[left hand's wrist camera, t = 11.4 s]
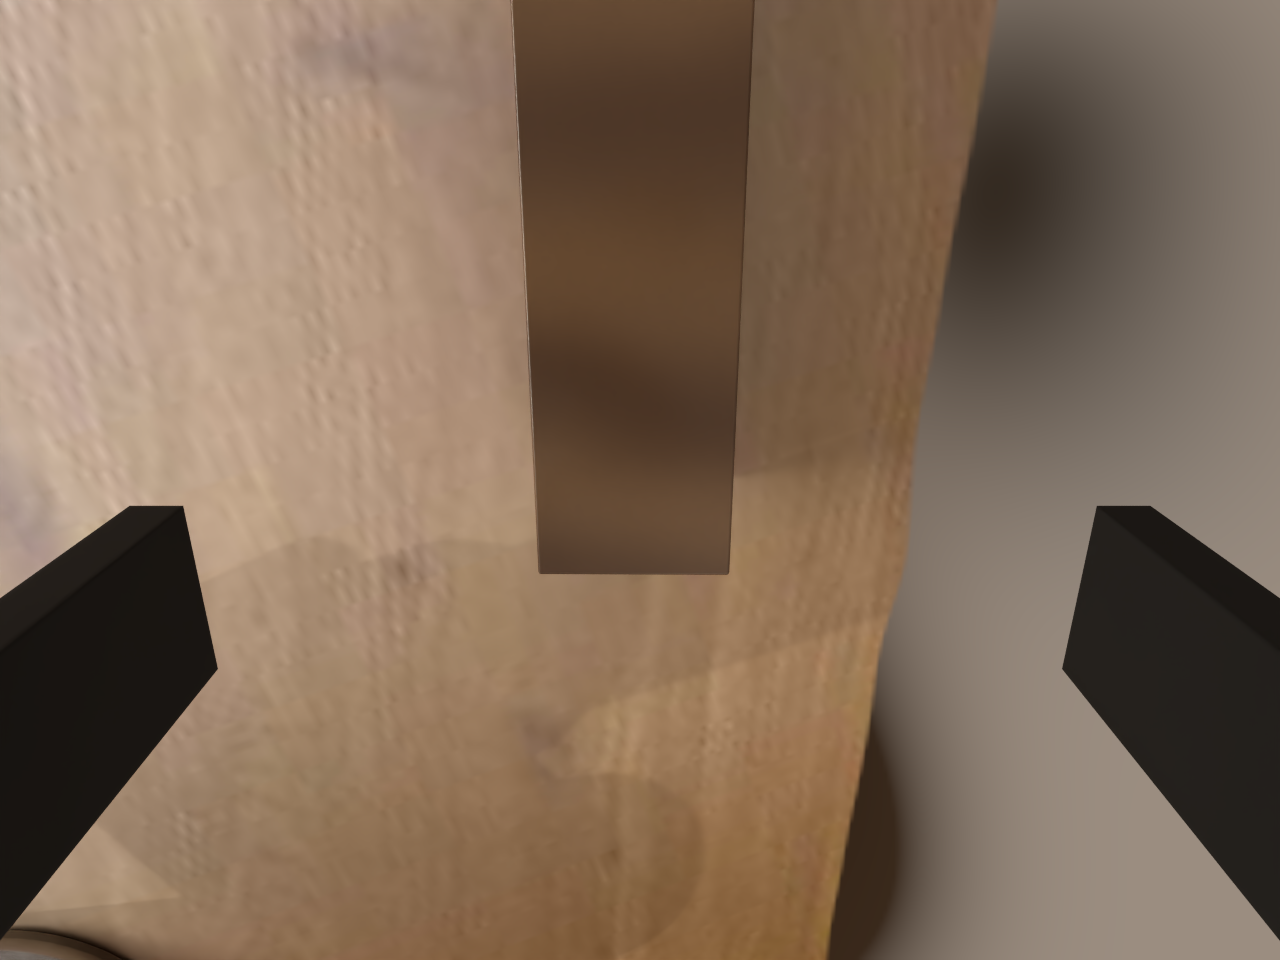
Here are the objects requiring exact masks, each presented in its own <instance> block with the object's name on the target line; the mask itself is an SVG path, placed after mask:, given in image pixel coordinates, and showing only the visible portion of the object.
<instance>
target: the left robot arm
mask: <svg viewBox="0 0 1280 960" xmlns="http://www.w3.org/2000/svg"><path fill="white" fill-rule="evenodd" d="M217 669H218V668H217V663H216V658H215V654H214V649H213V644H212V639H211V635H210V630H209V625H208V621H207V616H206V611H205V607H204V602H203V597H202V593H201V588H200V583H199V578H198V574H197V569H196V564H195V560H194V555H193V550H192V546H191V541H190V536H189V532H188V527H187V522H186V518H185V513H184V508H183V506H129V507H128V508H126V509H125V510H123V511H122V512H121V513H119V514H118V515H116V516H115V517H113V518H112V519H111V520H109V521H108V522H106V523H105V524H104V525H102V526H101V527H99V528H98V529H97V530H95V531H94V532H92V533H91V534H90V535H88V536H87V537H85V538H84V539H83V540H81V541H80V542H78V543H77V544H76V545H74V546H73V547H71V548H70V549H69V550H67V551H66V552H64V553H63V554H62V555H60V556H59V557H57V558H56V559H55V560H53V561H52V562H50V563H49V564H48V565H46V566H45V567H43V568H42V569H41V570H39V571H38V572H36V573H35V574H34V575H32V576H31V577H29V578H28V579H27V580H25V581H24V582H22V583H21V584H20V585H18V586H17V587H15V588H14V589H13V590H11V591H10V592H8V593H7V594H5V595H4V596H3V597H1V598H0V960H122V959H120V958H118V957H116V956H114V955H112V954H110V953H108V952H106V951H104V950H101V949H99V948H97V947H94V946H92V945H89V944H86V943H83V942H80V941H77V940H74V939H70V938H66V937H62V936H58V935H53V934H47V933H41V932H33V931H21V930H9V929H10V928H11V926H12V925H13V924H14V923H15V921H16V920H17V919H18V918H19V916H20V915H21V914H22V913H23V911H24V910H25V909H26V908H27V906H28V905H29V904H30V903H31V901H32V900H33V899H34V898H35V896H36V895H37V894H38V893H39V891H40V890H41V889H42V888H43V886H44V885H45V884H46V883H47V881H48V880H49V879H50V878H51V876H52V875H53V874H54V873H55V871H56V870H57V869H58V868H59V866H60V865H61V864H62V863H63V861H64V860H65V859H66V858H67V856H68V855H69V854H70V853H71V852H72V850H73V849H74V848H75V847H76V845H77V844H78V843H79V842H80V840H81V839H82V838H83V837H84V835H85V834H86V833H87V832H88V830H89V829H90V828H91V827H92V825H93V824H94V823H95V822H96V820H97V819H98V818H99V817H100V815H101V814H102V813H103V812H104V810H105V809H106V808H107V807H108V805H109V804H110V803H111V802H112V800H113V799H114V798H115V797H116V795H117V794H118V793H119V792H120V790H121V789H122V788H123V787H124V785H125V784H126V783H127V782H128V780H129V779H130V778H131V777H132V775H133V774H134V773H135V772H136V770H137V769H138V768H139V767H140V765H141V764H142V763H143V762H144V760H145V759H146V758H147V757H148V755H149V754H150V753H151V752H152V750H153V749H154V748H155V747H156V745H157V744H158V743H159V742H160V740H161V739H162V738H163V737H164V735H165V734H166V733H167V732H168V730H169V729H170V728H171V727H172V725H173V724H174V723H175V722H176V720H177V719H178V718H179V717H180V715H181V714H182V713H183V712H184V710H185V709H186V708H187V707H188V706H189V704H190V703H191V702H192V701H193V699H194V698H195V697H196V696H197V694H198V693H199V692H200V691H201V689H202V688H203V687H204V686H205V684H206V683H207V682H208V681H209V679H210V678H211V677H212V676H213V674H214V673H215V672H216V671H217ZM1062 669H1063V671H1064V672H1065V673H1066V674H1067V676H1068V677H1069V678H1070V679H1071V680H1072V682H1073V683H1074V684H1075V686H1076V687H1077V688H1078V689H1079V691H1080V692H1081V693H1082V694H1083V696H1084V697H1085V698H1086V699H1087V700H1088V702H1089V703H1090V704H1091V706H1092V707H1093V708H1094V709H1095V710H1096V712H1097V713H1098V714H1099V715H1100V717H1101V718H1102V719H1103V720H1104V722H1105V723H1106V724H1107V725H1108V727H1109V728H1110V729H1111V730H1112V732H1113V733H1114V734H1115V735H1116V737H1117V738H1118V739H1119V740H1120V742H1121V743H1122V744H1123V745H1124V747H1125V748H1126V749H1127V750H1128V752H1129V753H1130V754H1131V755H1132V757H1133V758H1134V759H1135V760H1136V762H1137V763H1138V764H1139V765H1140V767H1141V768H1142V769H1143V770H1144V772H1145V773H1146V774H1147V775H1148V777H1149V778H1150V779H1151V780H1152V782H1153V783H1154V784H1155V785H1156V787H1157V788H1158V789H1159V790H1160V792H1161V793H1162V794H1163V795H1164V796H1165V798H1166V799H1167V800H1168V802H1169V803H1170V804H1171V805H1172V807H1173V808H1174V809H1175V810H1176V812H1177V813H1178V814H1179V815H1180V817H1181V818H1182V819H1183V820H1184V822H1185V823H1186V824H1187V825H1188V827H1189V828H1190V829H1191V830H1192V832H1193V833H1194V834H1195V835H1196V836H1197V838H1198V839H1199V840H1200V842H1201V843H1202V844H1203V845H1204V847H1205V848H1206V849H1207V850H1208V851H1209V853H1210V854H1211V855H1212V856H1213V858H1214V859H1215V860H1216V861H1217V863H1218V864H1219V865H1220V866H1221V868H1222V869H1223V870H1224V871H1225V873H1226V874H1227V875H1228V876H1229V878H1230V879H1231V880H1232V881H1233V883H1234V884H1235V885H1236V886H1237V888H1238V889H1239V890H1240V891H1241V893H1242V894H1243V895H1244V896H1245V898H1246V899H1247V900H1248V901H1249V903H1250V904H1251V905H1252V906H1253V908H1254V909H1255V910H1256V911H1257V913H1258V914H1259V915H1260V916H1261V918H1262V919H1263V920H1264V921H1265V923H1266V924H1267V925H1268V926H1269V928H1270V929H1271V930H1272V931H1273V933H1274V934H1275V935H1276V936H1277V938H1278V939H1279V940H1280V598H1279V597H1277V596H1276V595H1274V594H1273V593H1272V592H1270V591H1269V590H1267V589H1266V588H1265V587H1263V586H1262V585H1260V584H1259V583H1258V582H1256V581H1255V580H1253V579H1252V578H1251V577H1249V576H1248V575H1246V574H1245V573H1244V572H1242V571H1241V570H1239V569H1238V568H1237V567H1235V566H1234V565H1232V564H1231V563H1230V562H1228V561H1227V560H1225V559H1224V558H1223V557H1221V556H1220V555H1218V554H1217V553H1216V552H1214V551H1213V550H1211V549H1210V548H1208V547H1207V546H1206V545H1204V544H1203V543H1201V542H1200V541H1199V540H1197V539H1196V538H1195V537H1193V536H1192V535H1190V534H1189V533H1188V532H1186V531H1185V530H1183V529H1182V528H1181V527H1179V526H1178V525H1176V524H1175V523H1174V522H1172V521H1171V520H1169V519H1168V518H1167V517H1165V516H1164V515H1162V514H1161V513H1159V512H1158V511H1157V510H1155V509H1154V508H1152V507H1151V506H1097V508H1096V513H1095V517H1094V522H1093V527H1092V532H1091V536H1090V541H1089V546H1088V550H1087V555H1086V560H1085V564H1084V569H1083V574H1082V578H1081V583H1080V588H1079V593H1078V597H1077V602H1076V607H1075V611H1074V616H1073V621H1072V625H1071V630H1070V635H1069V639H1068V644H1067V649H1066V654H1065V658H1064V663H1063V668H1062Z"/></svg>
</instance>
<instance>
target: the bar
mask: <svg viewBox="0 0 1280 960" xmlns="http://www.w3.org/2000/svg"><path fill="white" fill-rule="evenodd" d="M511 19H512V40H513V60H514V81H515V101H516V121H517V142H518V162H519V183H520V203H521V223H522V244H523V264H524V284H525V305H526V325H527V346H528V366H529V386H530V407H531V427H532V448H533V468H534V488H535V509H536V529H537V550H538V570H539V573H540V574H685V575H727V574H729V564H730V542H731V519H732V497H733V474H734V452H735V429H736V406H737V384H738V361H739V339H740V316H741V294H742V271H743V248H744V226H745V203H746V181H747V158H748V136H749V113H750V90H751V68H752V45H753V23H754V0H511Z"/></svg>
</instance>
